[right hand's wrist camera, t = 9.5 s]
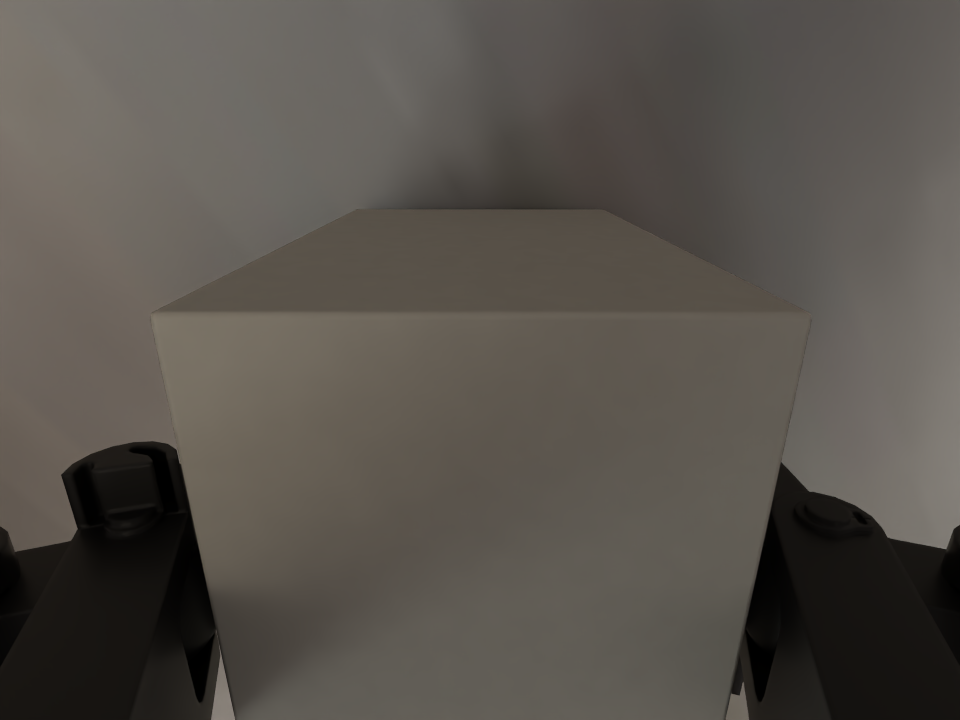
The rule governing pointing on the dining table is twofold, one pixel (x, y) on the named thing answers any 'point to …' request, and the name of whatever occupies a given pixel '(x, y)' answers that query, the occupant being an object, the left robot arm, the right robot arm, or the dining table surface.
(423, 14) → the dining table surface
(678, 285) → the beam
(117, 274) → the dining table surface
